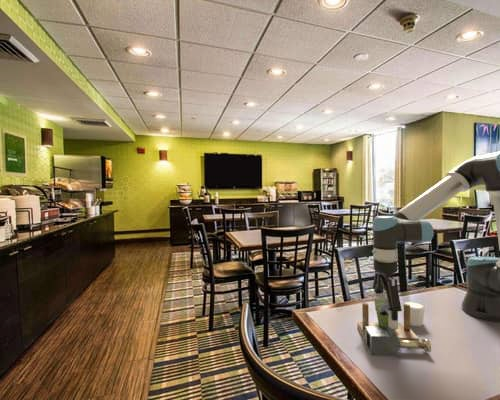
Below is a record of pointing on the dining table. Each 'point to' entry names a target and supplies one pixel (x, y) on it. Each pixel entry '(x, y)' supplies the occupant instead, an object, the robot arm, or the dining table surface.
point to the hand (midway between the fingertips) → (385, 318)
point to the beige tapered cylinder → (416, 313)
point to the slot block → (381, 341)
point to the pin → (415, 344)
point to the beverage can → (382, 310)
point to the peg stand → (401, 332)
